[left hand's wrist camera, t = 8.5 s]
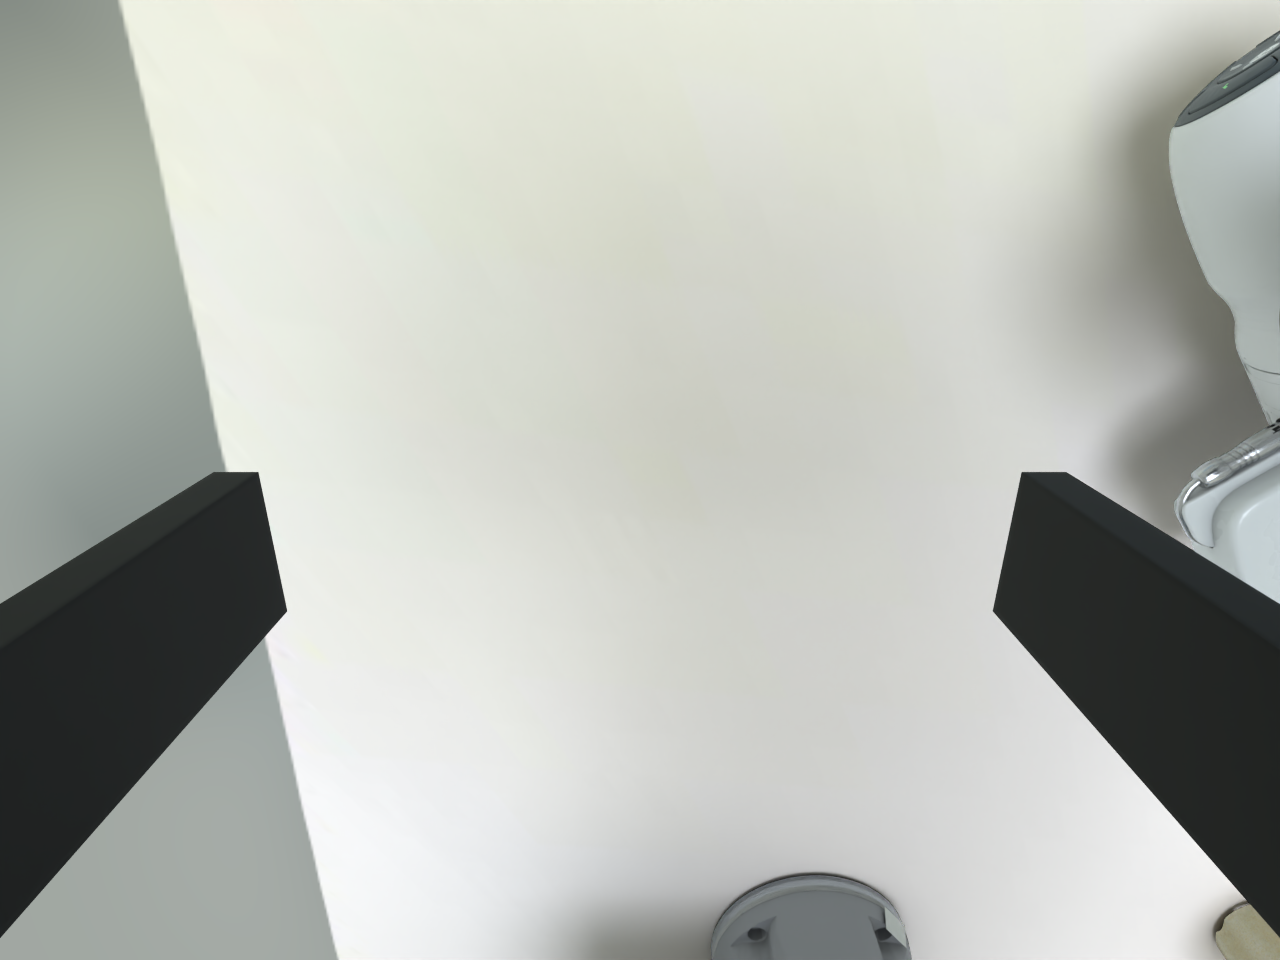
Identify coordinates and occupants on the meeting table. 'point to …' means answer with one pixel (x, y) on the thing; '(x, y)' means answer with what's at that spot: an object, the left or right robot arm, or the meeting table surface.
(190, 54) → the meeting table surface
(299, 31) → the meeting table surface
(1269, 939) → the flower pot
